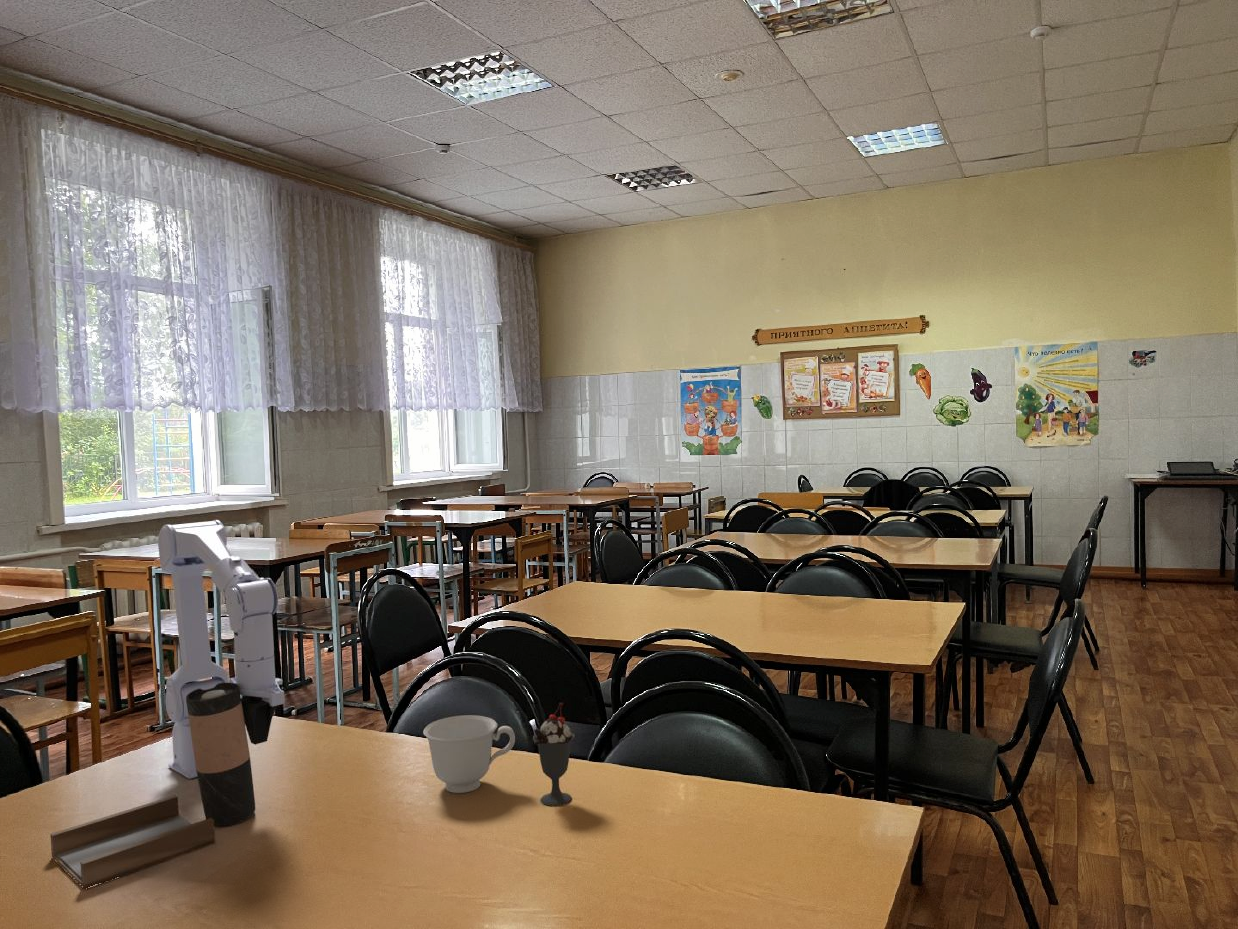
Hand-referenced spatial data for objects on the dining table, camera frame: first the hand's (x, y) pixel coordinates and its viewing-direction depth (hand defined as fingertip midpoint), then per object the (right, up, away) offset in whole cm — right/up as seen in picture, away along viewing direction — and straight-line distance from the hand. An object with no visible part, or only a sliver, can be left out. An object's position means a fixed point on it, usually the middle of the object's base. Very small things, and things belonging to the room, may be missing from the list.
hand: (259, 742), depth 143 cm
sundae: (+47, -9, -1) cm, 48 cm away
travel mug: (-3, -11, -3) cm, 11 cm away
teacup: (+33, -9, +6) cm, 35 cm away
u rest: (-13, -11, -13) cm, 22 cm away
